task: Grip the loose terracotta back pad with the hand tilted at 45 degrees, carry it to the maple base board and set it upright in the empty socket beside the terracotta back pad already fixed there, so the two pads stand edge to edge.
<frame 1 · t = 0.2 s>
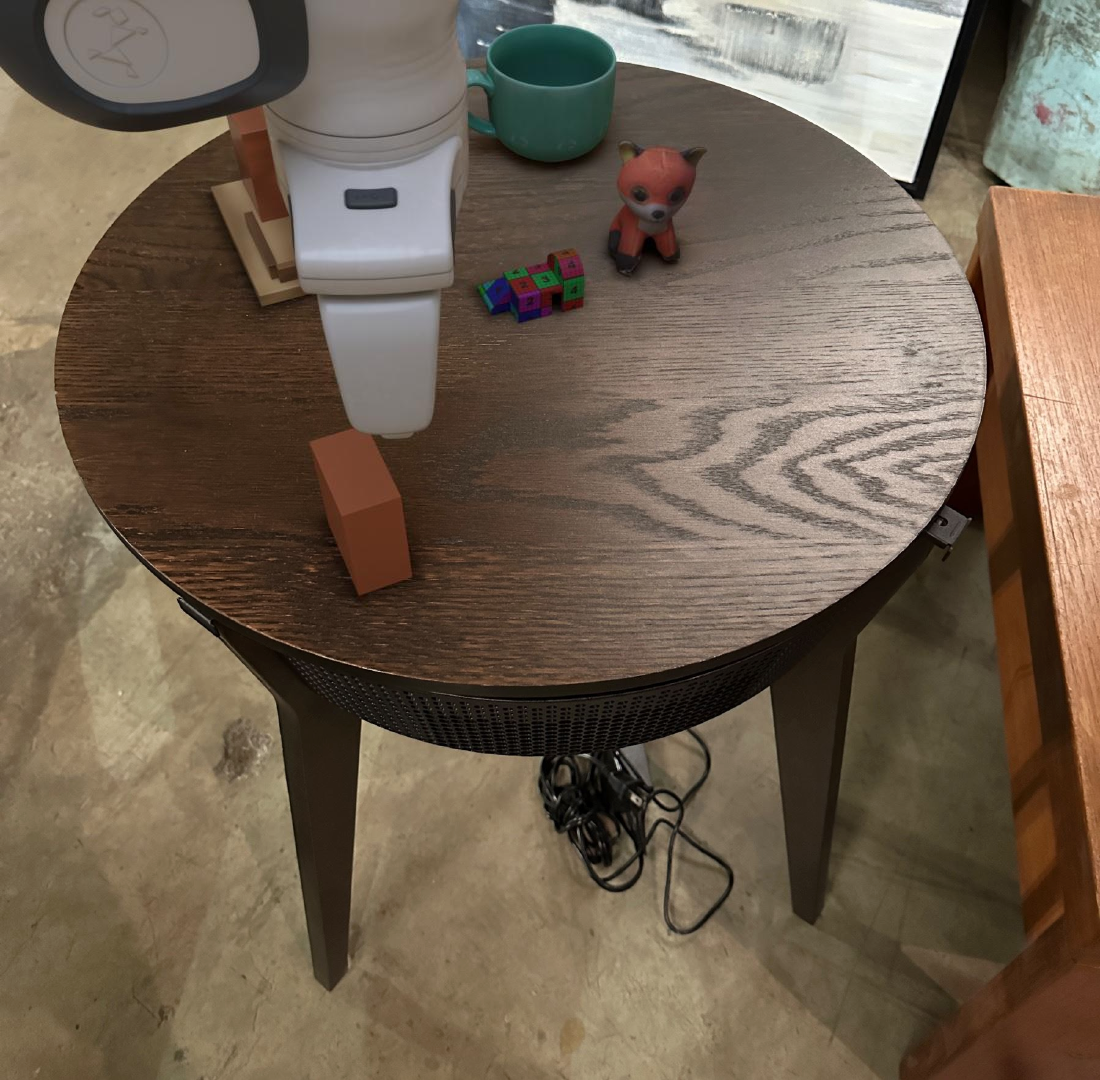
hand: (394, 366, 57), 20 cm above the table, tool pointing down, fingers open, 8 cm apart
numbered block arch: (529, 300, 92), on the table
stuffed fox: (644, 247, 97), on the table
pad base: (288, 236, 97), on the table
mug: (530, 147, 107), on the table
back pad: (369, 550, 75), on the table
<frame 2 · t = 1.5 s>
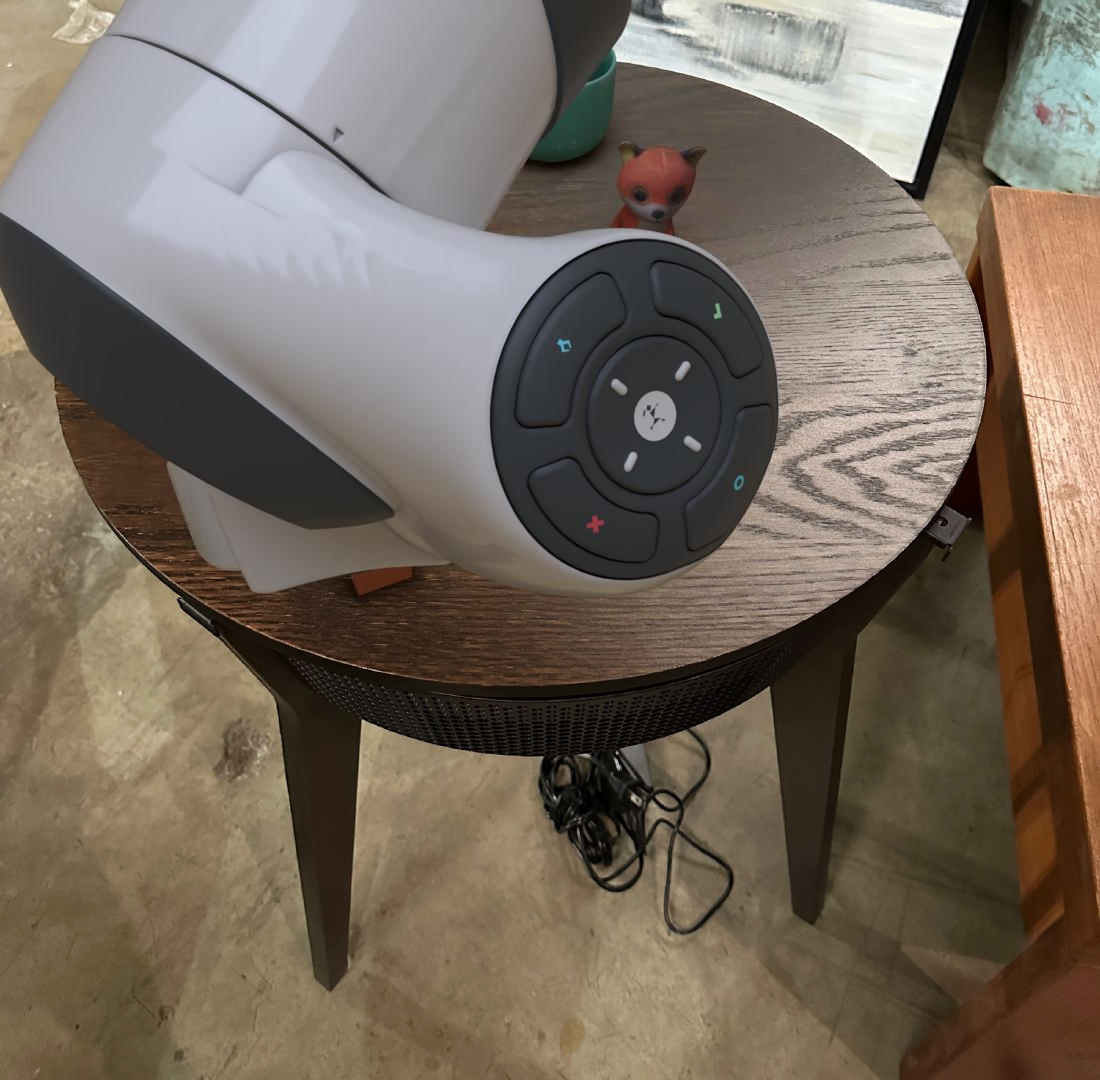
hand: (397, 434, 49), 24 cm above the table, tool tilted 45°, fingers open, 8 cm apart
nothing on the table moved.
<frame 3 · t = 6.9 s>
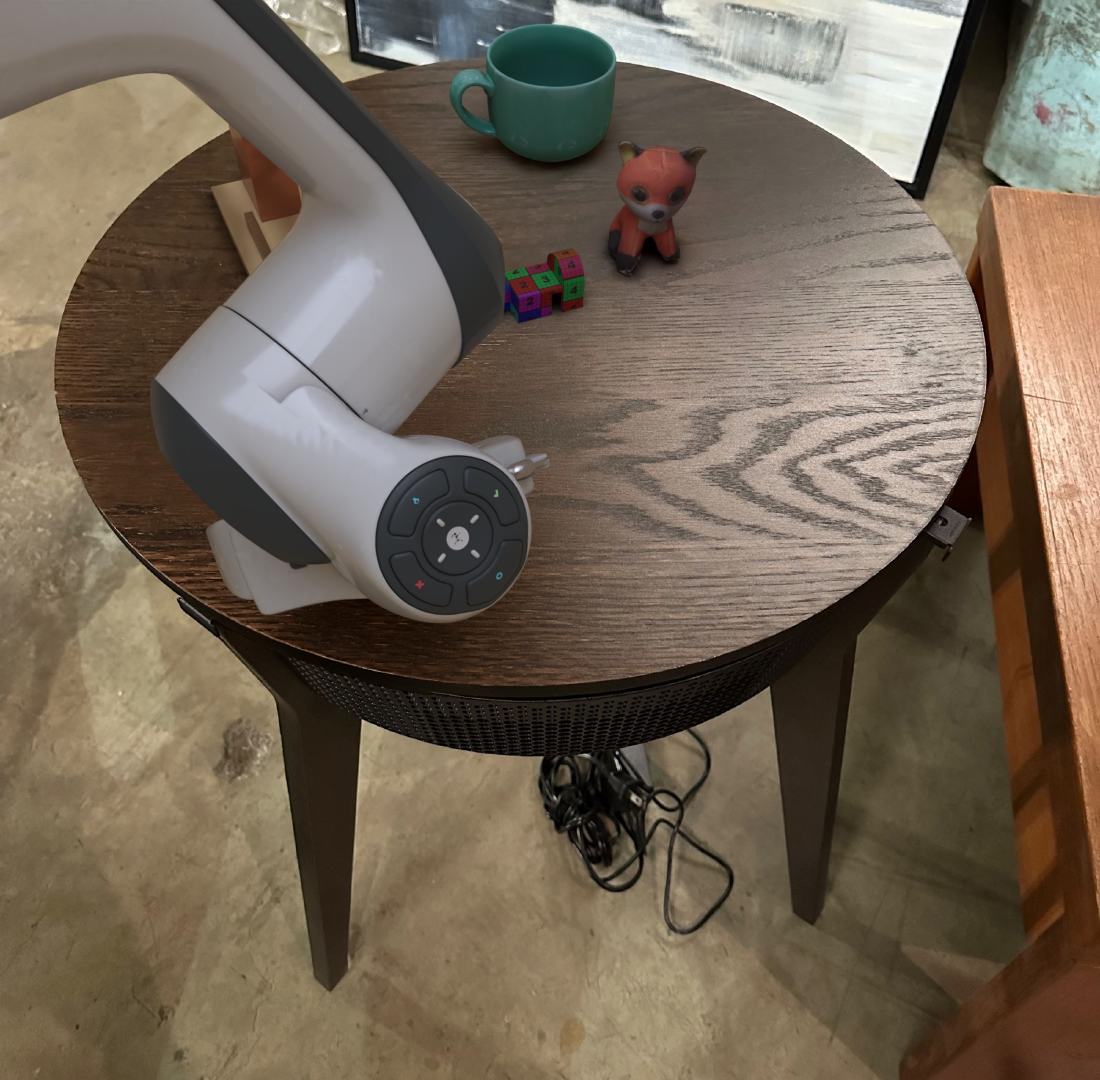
hand: (358, 501, 71), 5 cm above the table, tool tilted 45°, fingers closed on back pad, 4 cm apart
back pad: (370, 550, 75), on the table, touching gripper
everything else where it was.
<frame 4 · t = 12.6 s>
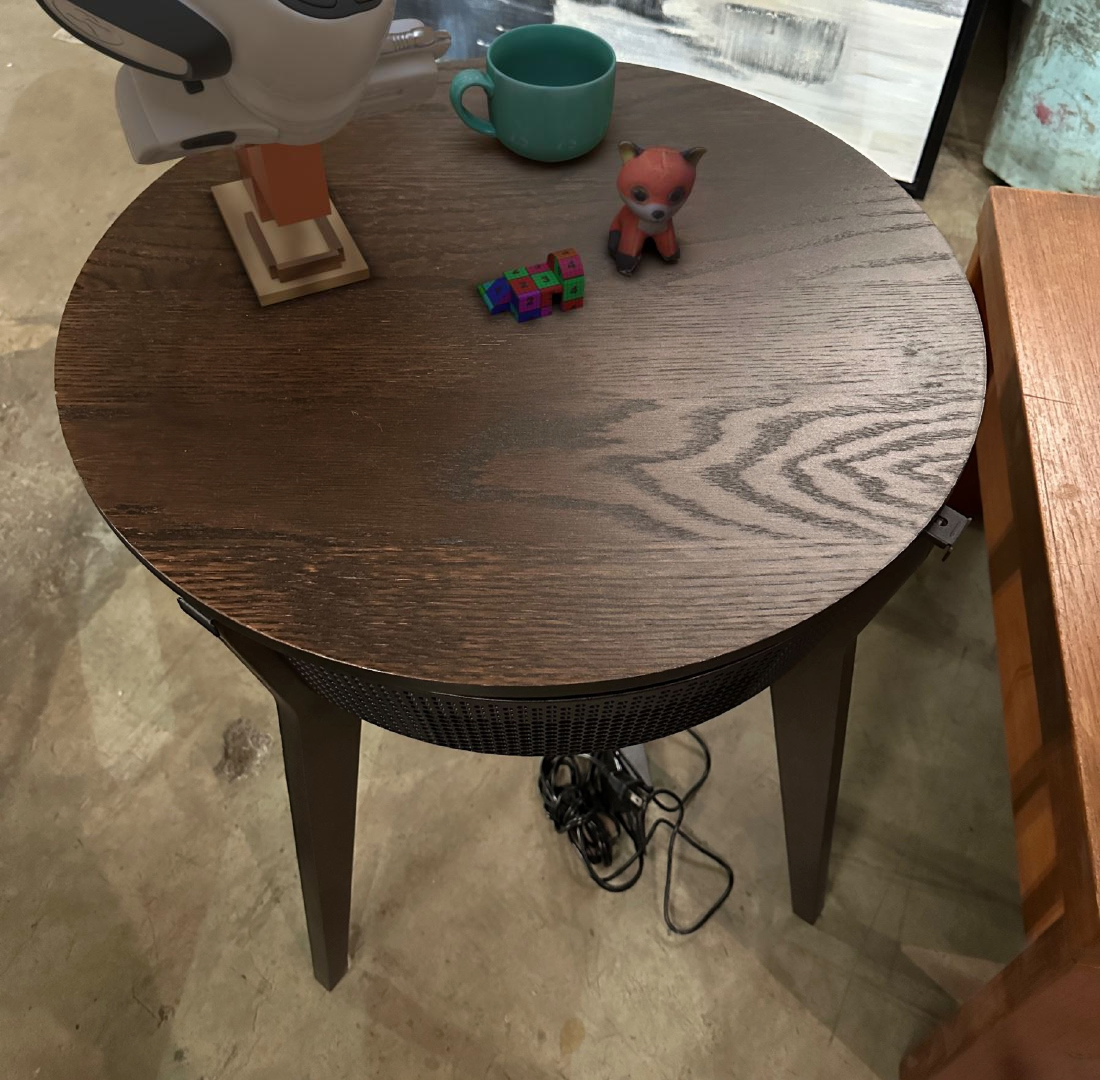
hand: (276, 129, 73), 19 cm above the table, tool tilted 45°, fingers closed on back pad, 4 cm apart
back pad: (291, 194, 76), point 15 cm above the table, touching gripper
everything else where it was.
when the fingers open (6 cm above the table, at t = 18.2 s): back pad stays where it is, resting on pad base.
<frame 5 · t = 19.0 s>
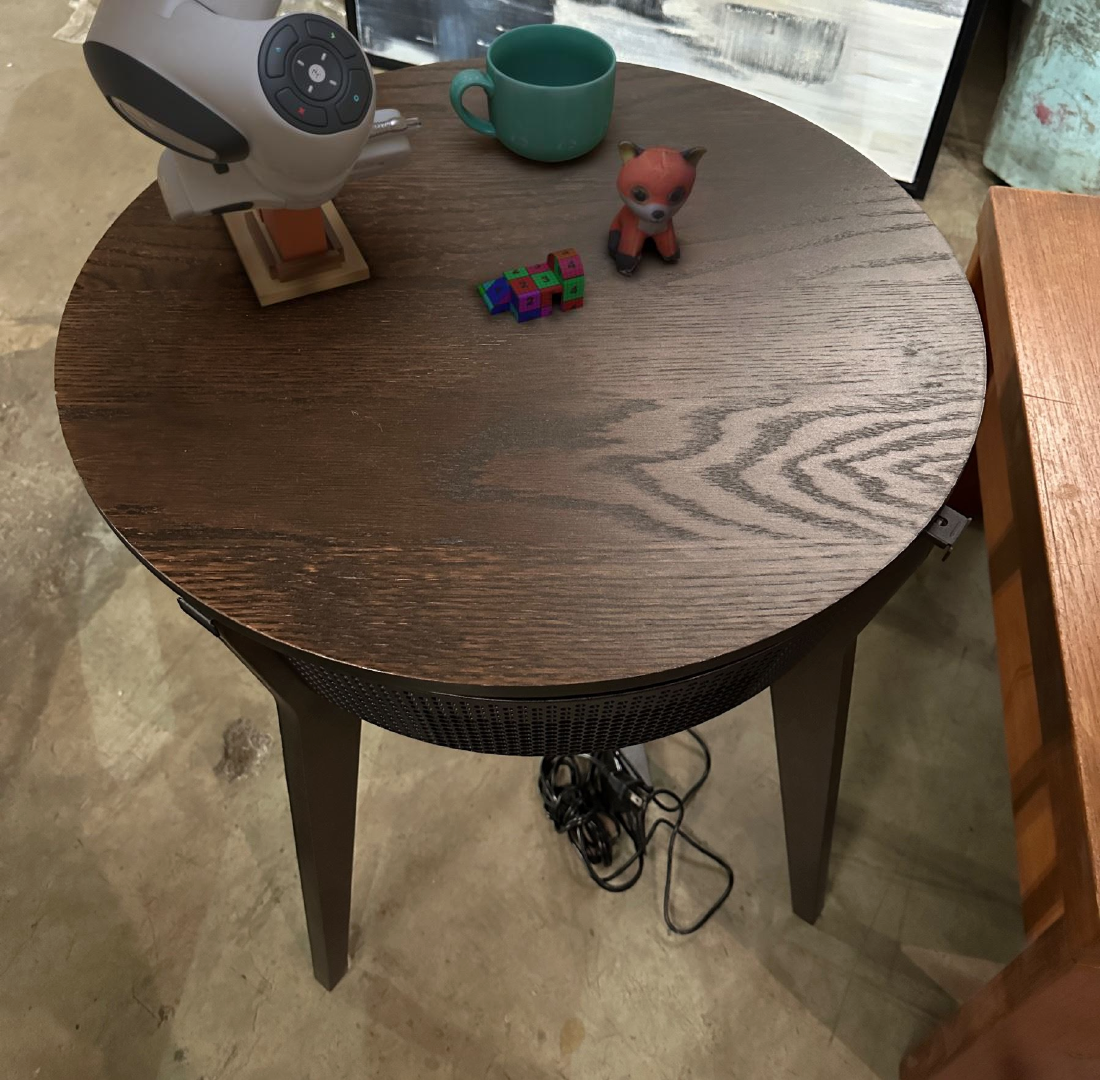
hand: (282, 188, 90), 7 cm above the table, tool tilted 45°, fingers open, 8 cm apart
back pad: (297, 243, 94), point 1 cm above the table, touching pad base
everything else where it was.
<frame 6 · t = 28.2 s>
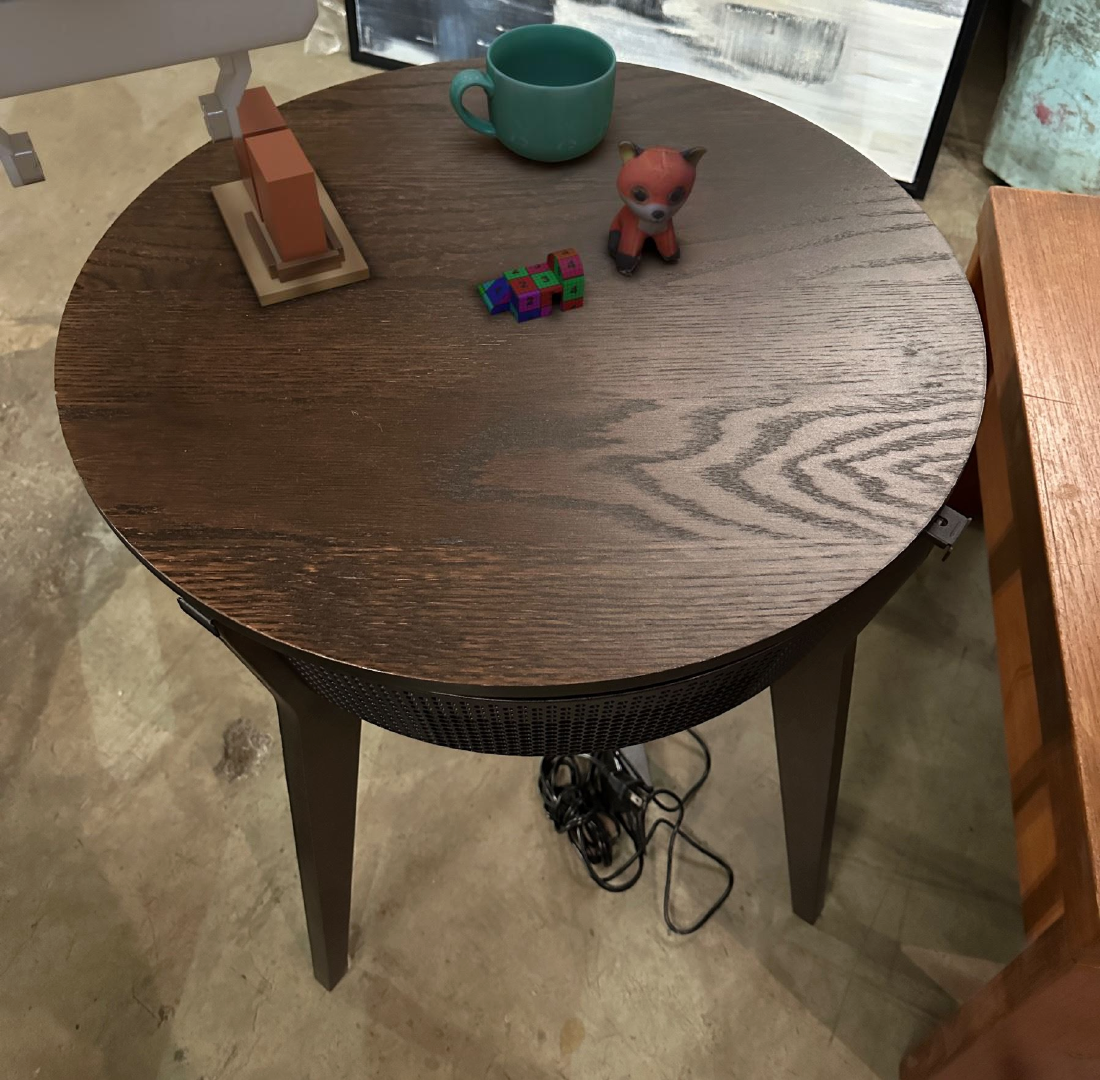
hand: (129, 156, 50), 31 cm above the table, tool pointing down, fingers open, 8 cm apart
nothing on the table moved.
at the end: back pad 0.2 cm from the target spot on the pad base, point 1.2 cm above the pad base's base; back pad tilted 0°; the gripper is holding nothing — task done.
